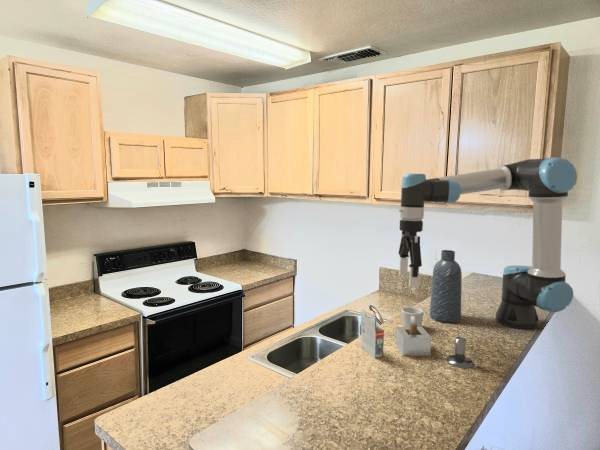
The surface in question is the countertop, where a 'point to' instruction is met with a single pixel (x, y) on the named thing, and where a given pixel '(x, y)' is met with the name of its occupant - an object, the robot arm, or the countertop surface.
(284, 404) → the countertop surface
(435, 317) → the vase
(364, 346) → the ink box
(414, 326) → the stand
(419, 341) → the square through-hole block
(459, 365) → the cylinder
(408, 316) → the cup
